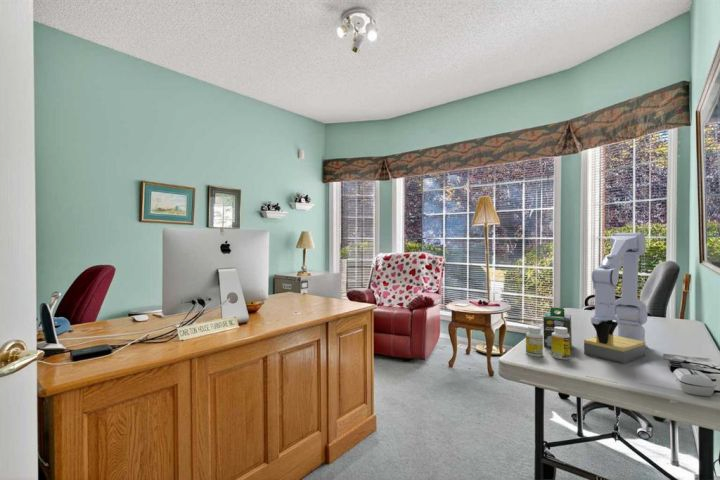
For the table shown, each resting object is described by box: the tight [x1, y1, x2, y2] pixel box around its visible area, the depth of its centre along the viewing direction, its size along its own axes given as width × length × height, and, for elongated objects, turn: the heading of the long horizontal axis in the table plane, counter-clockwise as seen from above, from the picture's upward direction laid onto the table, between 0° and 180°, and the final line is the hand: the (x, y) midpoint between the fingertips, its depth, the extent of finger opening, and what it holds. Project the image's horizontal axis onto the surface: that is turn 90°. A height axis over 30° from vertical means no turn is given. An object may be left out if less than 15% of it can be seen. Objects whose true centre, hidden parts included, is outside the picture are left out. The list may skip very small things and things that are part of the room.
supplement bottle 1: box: [525, 325, 544, 358], centre depth 122 cm, size 5×5×10 cm
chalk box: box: [542, 306, 573, 351], centre depth 134 cm, size 9×9×15 cm
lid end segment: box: [583, 332, 633, 352], centre depth 120 cm, size 7×12×4 cm, turn 31°
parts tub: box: [583, 334, 646, 365], centre depth 123 cm, size 17×12×5 cm
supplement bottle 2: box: [551, 327, 571, 360], centre depth 119 cm, size 6×6×10 cm
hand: (604, 342), depth 119 cm, fingers closed on lid end segment, 2 cm apart
